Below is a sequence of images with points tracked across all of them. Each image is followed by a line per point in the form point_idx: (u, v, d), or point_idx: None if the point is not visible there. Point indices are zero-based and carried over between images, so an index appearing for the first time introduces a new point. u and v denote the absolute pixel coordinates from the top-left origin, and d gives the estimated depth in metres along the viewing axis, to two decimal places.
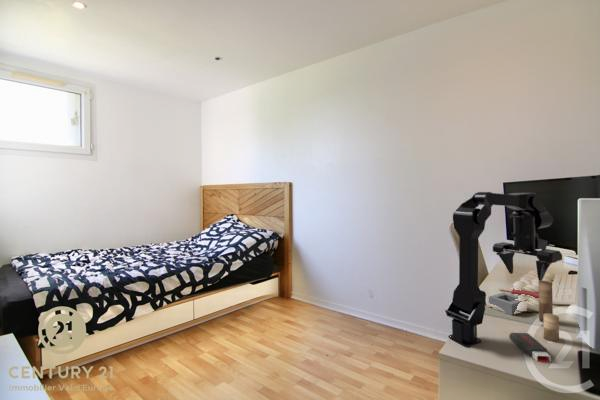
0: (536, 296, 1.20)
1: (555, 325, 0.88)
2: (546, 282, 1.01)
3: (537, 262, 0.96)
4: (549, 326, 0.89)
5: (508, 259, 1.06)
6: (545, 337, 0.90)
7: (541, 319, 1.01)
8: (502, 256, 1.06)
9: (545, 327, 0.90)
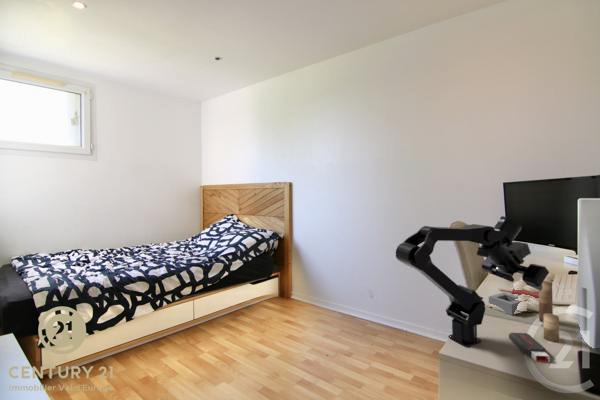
0: (536, 296, 1.20)
1: (555, 324, 0.88)
2: (546, 282, 1.01)
3: (527, 284, 0.91)
4: (549, 326, 0.89)
5: (502, 273, 1.02)
6: (545, 337, 0.90)
7: (541, 319, 1.01)
8: (495, 275, 1.02)
9: (545, 327, 0.90)
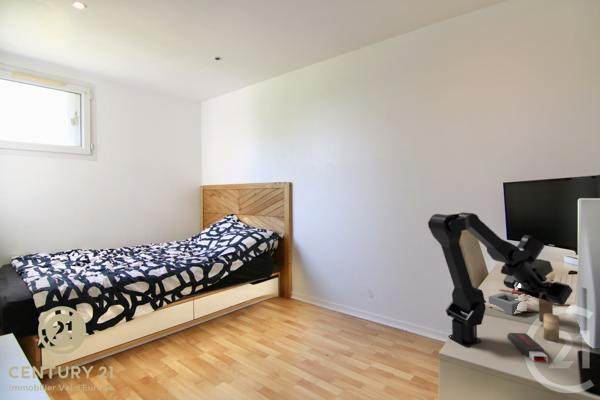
0: None
1: (555, 325, 0.88)
2: (546, 282, 1.01)
3: (542, 299, 0.97)
4: (549, 326, 0.89)
5: (532, 292, 1.02)
6: (545, 337, 0.90)
7: (541, 319, 1.01)
8: (525, 293, 1.02)
9: (545, 327, 0.90)
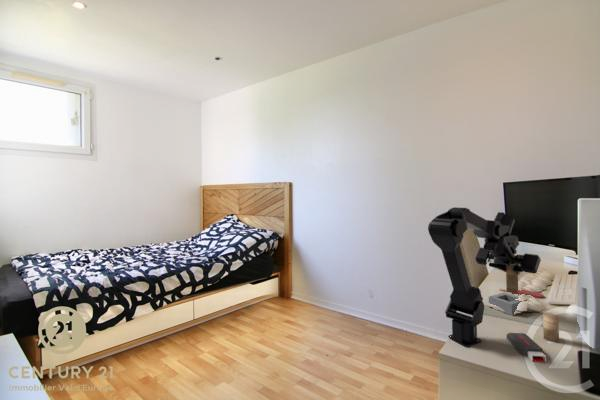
0: (537, 296, 1.20)
1: (554, 324, 0.88)
2: None
3: (514, 270, 1.05)
4: (548, 326, 0.89)
5: (501, 265, 1.10)
6: (545, 337, 0.90)
7: (509, 290, 1.10)
8: (496, 267, 1.10)
9: (545, 327, 0.90)
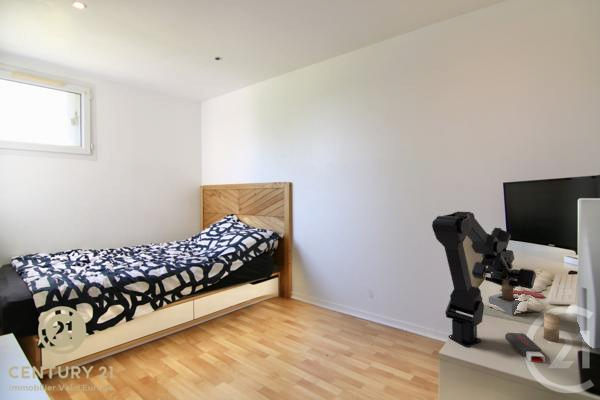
0: (537, 296, 1.20)
1: (555, 325, 0.88)
2: None
3: (510, 285, 1.06)
4: (549, 326, 0.89)
5: (497, 279, 1.12)
6: (545, 337, 0.90)
7: None
8: (492, 282, 1.11)
9: (545, 327, 0.90)
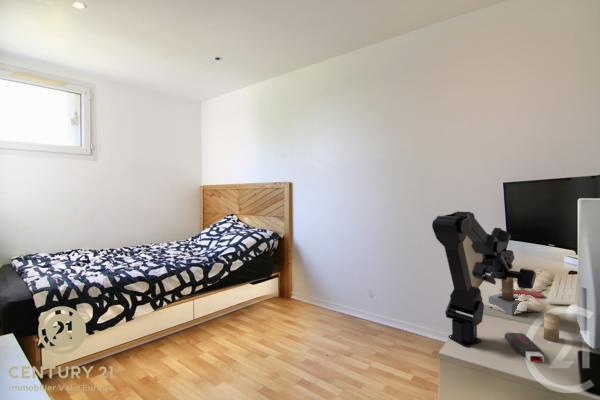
0: (537, 296, 1.20)
1: (555, 325, 0.88)
2: None
3: (519, 287, 1.04)
4: (549, 326, 0.89)
5: (489, 278, 1.14)
6: (545, 337, 0.90)
7: None
8: (484, 280, 1.13)
9: (545, 327, 0.90)
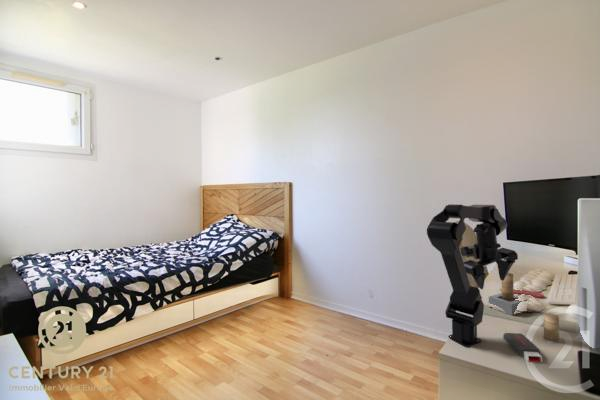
0: (537, 296, 1.20)
1: (554, 325, 0.88)
2: (508, 273, 1.12)
3: (510, 264, 1.02)
4: (548, 326, 0.89)
5: None
6: (545, 337, 0.90)
7: None
8: (483, 275, 0.99)
9: (545, 327, 0.90)
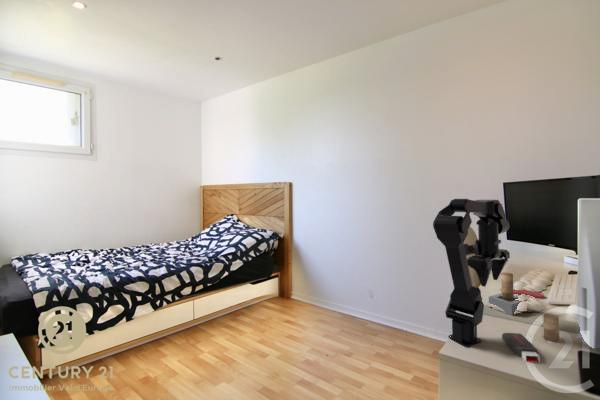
0: (538, 296, 1.20)
1: (554, 325, 0.88)
2: (508, 273, 1.12)
3: (505, 262, 1.04)
4: (548, 326, 0.89)
5: None
6: (545, 337, 0.90)
7: None
8: (490, 269, 0.97)
9: (544, 327, 0.90)
